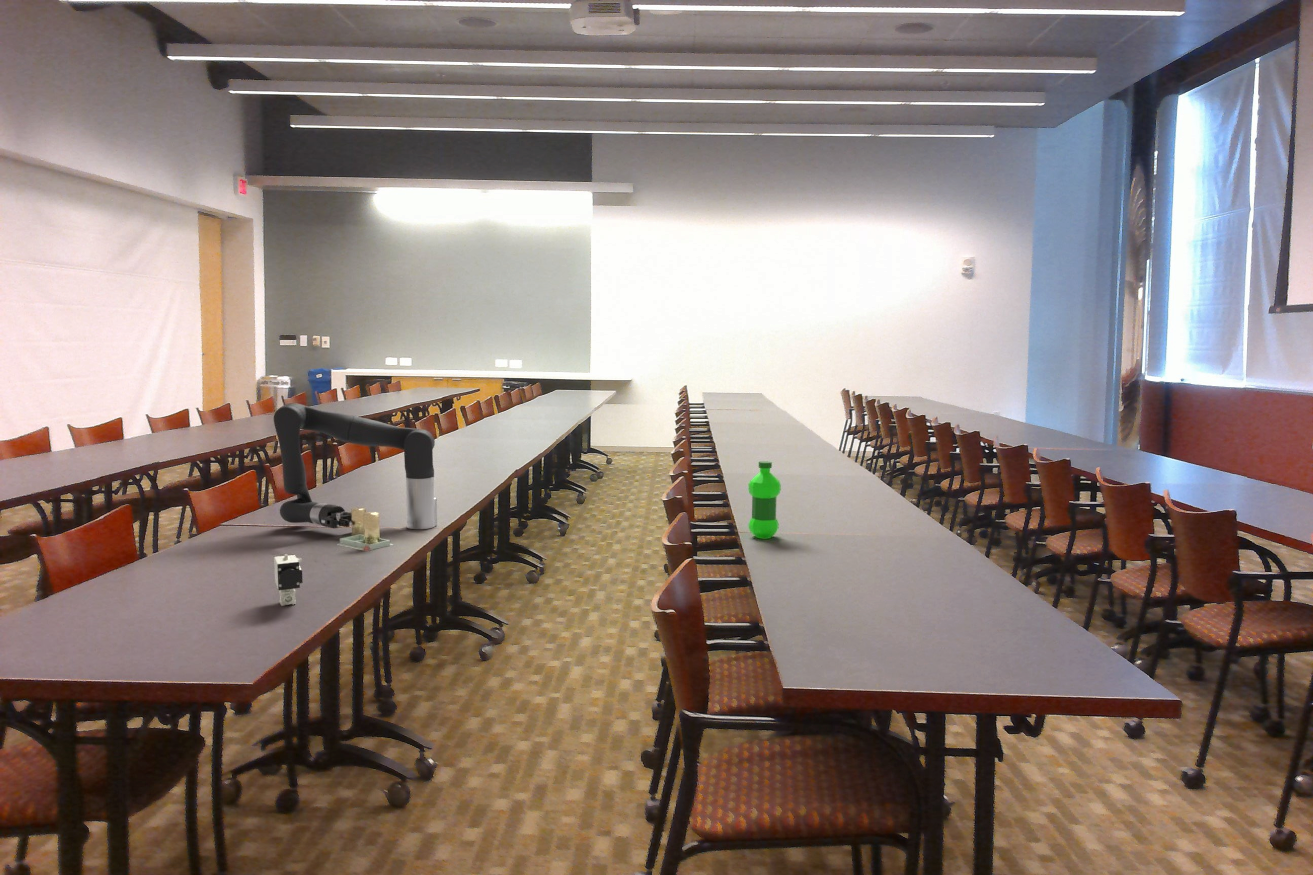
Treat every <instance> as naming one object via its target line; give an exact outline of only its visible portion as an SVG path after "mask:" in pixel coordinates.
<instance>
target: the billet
mask: <svg viewBox="0 0 1313 875" xmlns="http://www.w3.org/2000/svg"><path fill="white" fill-rule="evenodd" d="M350 512H351V523H350V525H351V536H355V535H359V534H361V535H364V520H363V513H366V512H367V508H366V507H353V508H351V510H350Z"/></svg>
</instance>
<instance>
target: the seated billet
mask: <svg viewBox="0 0 1313 875" xmlns="http://www.w3.org/2000/svg"><path fill="white" fill-rule="evenodd" d="M363 520H364V543H366V544H374V543H378V542H380V538H381V537H380V534H381V533H380V531H381V530H380V512H379V511H366V513H363Z"/></svg>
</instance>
